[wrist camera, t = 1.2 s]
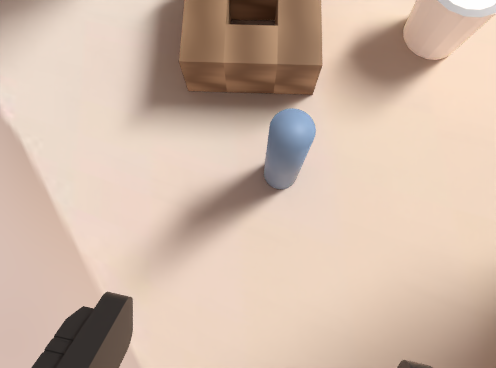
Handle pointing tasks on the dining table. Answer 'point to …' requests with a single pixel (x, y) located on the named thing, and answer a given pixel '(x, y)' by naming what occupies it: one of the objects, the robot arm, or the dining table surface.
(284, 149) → the peg
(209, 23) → the hole block
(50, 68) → the dining table surface
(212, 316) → the dining table surface
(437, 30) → the white cup
